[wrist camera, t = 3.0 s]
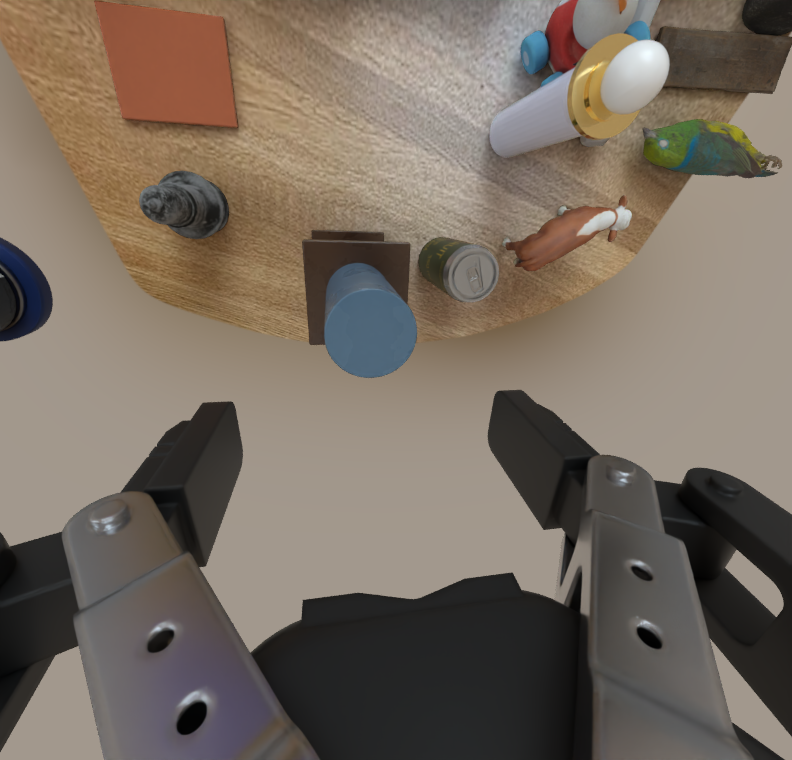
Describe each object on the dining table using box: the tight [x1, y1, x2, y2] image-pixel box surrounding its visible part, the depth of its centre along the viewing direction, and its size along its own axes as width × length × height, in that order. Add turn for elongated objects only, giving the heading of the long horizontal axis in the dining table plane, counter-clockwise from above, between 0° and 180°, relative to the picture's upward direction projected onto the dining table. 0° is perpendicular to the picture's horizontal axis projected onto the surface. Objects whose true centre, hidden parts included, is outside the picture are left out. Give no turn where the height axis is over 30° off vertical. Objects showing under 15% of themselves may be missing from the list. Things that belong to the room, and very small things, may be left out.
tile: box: [94, 1, 238, 128], centre depth 32 cm, size 10×8×1 cm
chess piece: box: [139, 171, 229, 239], centre depth 32 cm, size 6×6×12 cm
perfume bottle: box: [490, 33, 670, 158], centre depth 30 cm, size 6×6×20 cm
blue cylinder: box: [324, 263, 417, 378], centre depth 23 cm, size 5×5×10 cm
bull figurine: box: [502, 195, 632, 271], centre depth 40 cm, size 4×13×8 cm, turn 113°
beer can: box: [419, 237, 499, 302], centre depth 38 cm, size 5×5×12 cm
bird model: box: [643, 119, 782, 178], centre depth 41 cm, size 5×19×5 cm
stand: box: [302, 230, 410, 345], centre depth 35 cm, size 8×8×16 cm
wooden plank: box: [657, 26, 792, 94], centre depth 39 cm, size 17×1×5 cm
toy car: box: [521, 0, 650, 87], centre depth 31 cm, size 9×9×10 cm
